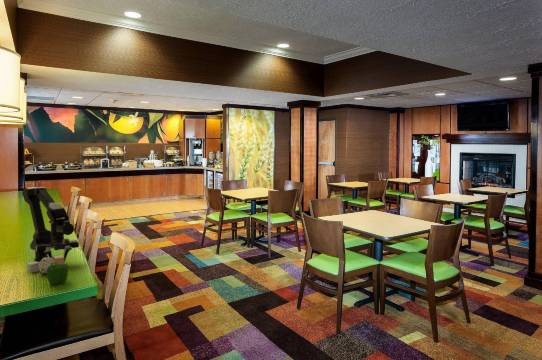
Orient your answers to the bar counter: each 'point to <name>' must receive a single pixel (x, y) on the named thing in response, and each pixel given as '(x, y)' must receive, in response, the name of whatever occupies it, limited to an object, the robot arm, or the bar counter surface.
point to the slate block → (32, 267)
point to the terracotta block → (59, 259)
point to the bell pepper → (57, 273)
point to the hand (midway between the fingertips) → (58, 262)
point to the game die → (45, 264)
